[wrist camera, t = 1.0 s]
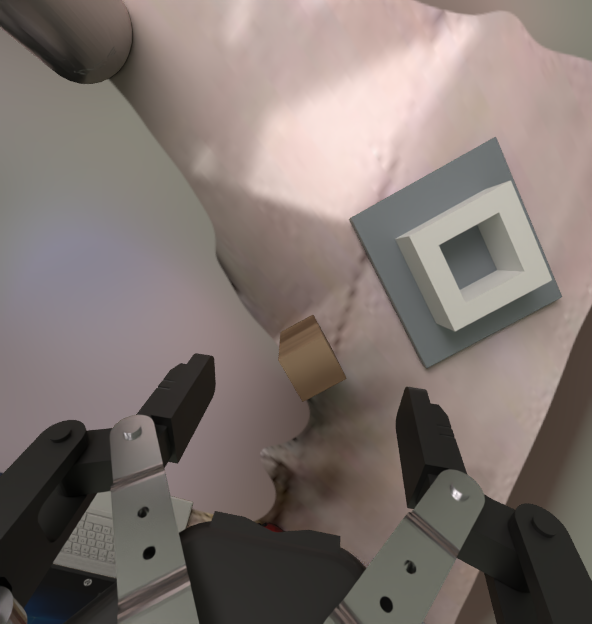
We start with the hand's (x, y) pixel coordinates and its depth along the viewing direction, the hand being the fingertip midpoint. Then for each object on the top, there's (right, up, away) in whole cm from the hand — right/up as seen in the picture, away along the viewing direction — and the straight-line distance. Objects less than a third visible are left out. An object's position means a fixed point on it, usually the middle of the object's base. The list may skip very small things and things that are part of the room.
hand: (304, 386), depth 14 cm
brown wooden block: (+1, 0, +22) cm, 22 cm away
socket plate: (+16, +9, +21) cm, 28 cm away
